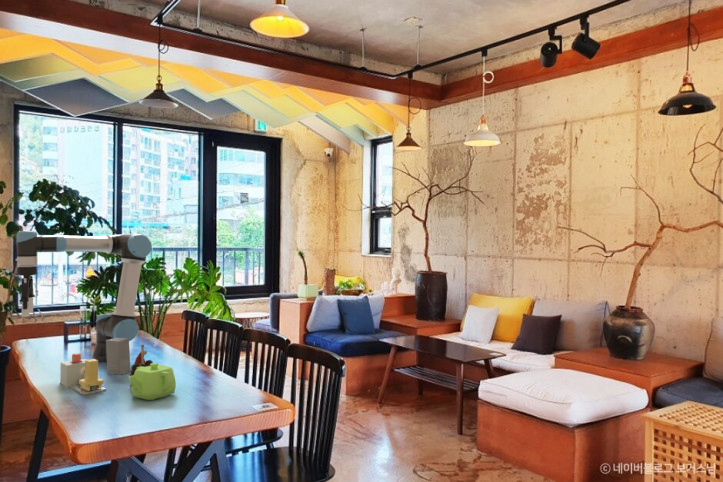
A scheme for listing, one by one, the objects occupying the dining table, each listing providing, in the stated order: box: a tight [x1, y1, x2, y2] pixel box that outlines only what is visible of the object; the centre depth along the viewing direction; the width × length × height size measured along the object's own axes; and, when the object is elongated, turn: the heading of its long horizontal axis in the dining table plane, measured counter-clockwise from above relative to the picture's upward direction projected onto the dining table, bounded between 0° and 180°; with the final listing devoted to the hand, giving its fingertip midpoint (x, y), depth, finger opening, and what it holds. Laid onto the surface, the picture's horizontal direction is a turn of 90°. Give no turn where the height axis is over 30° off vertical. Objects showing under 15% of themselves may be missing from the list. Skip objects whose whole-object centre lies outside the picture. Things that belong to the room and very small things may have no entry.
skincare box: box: [106, 338, 131, 376], centre depth 253 cm, size 8×7×16 cm
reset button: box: [71, 353, 82, 364], centre depth 235 cm, size 3×3×5 cm
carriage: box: [79, 358, 104, 391], centre depth 224 cm, size 7×7×11 cm
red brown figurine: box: [129, 344, 154, 389], centre depth 230 cm, size 11×9×18 cm
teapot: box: [127, 362, 177, 401], centre depth 216 cm, size 18×20×13 cm
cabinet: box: [59, 358, 88, 388], centre depth 235 cm, size 10×8×9 cm
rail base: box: [68, 379, 107, 396], centre depth 226 cm, size 9×15×3 cm, turn 47°
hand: (27, 314), depth 242 cm, fingers open, 13 cm apart
